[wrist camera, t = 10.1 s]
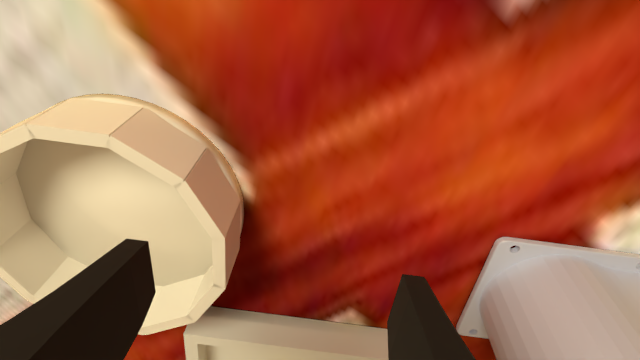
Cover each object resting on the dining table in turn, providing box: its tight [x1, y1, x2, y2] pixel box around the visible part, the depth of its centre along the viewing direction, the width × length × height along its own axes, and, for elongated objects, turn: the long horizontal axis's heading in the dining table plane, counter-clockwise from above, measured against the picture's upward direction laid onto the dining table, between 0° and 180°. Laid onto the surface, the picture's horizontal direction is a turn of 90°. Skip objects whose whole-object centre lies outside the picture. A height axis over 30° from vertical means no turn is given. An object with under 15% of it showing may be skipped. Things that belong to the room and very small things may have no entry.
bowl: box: [0, 94, 244, 335], centre depth 20 cm, size 12×12×4 cm
